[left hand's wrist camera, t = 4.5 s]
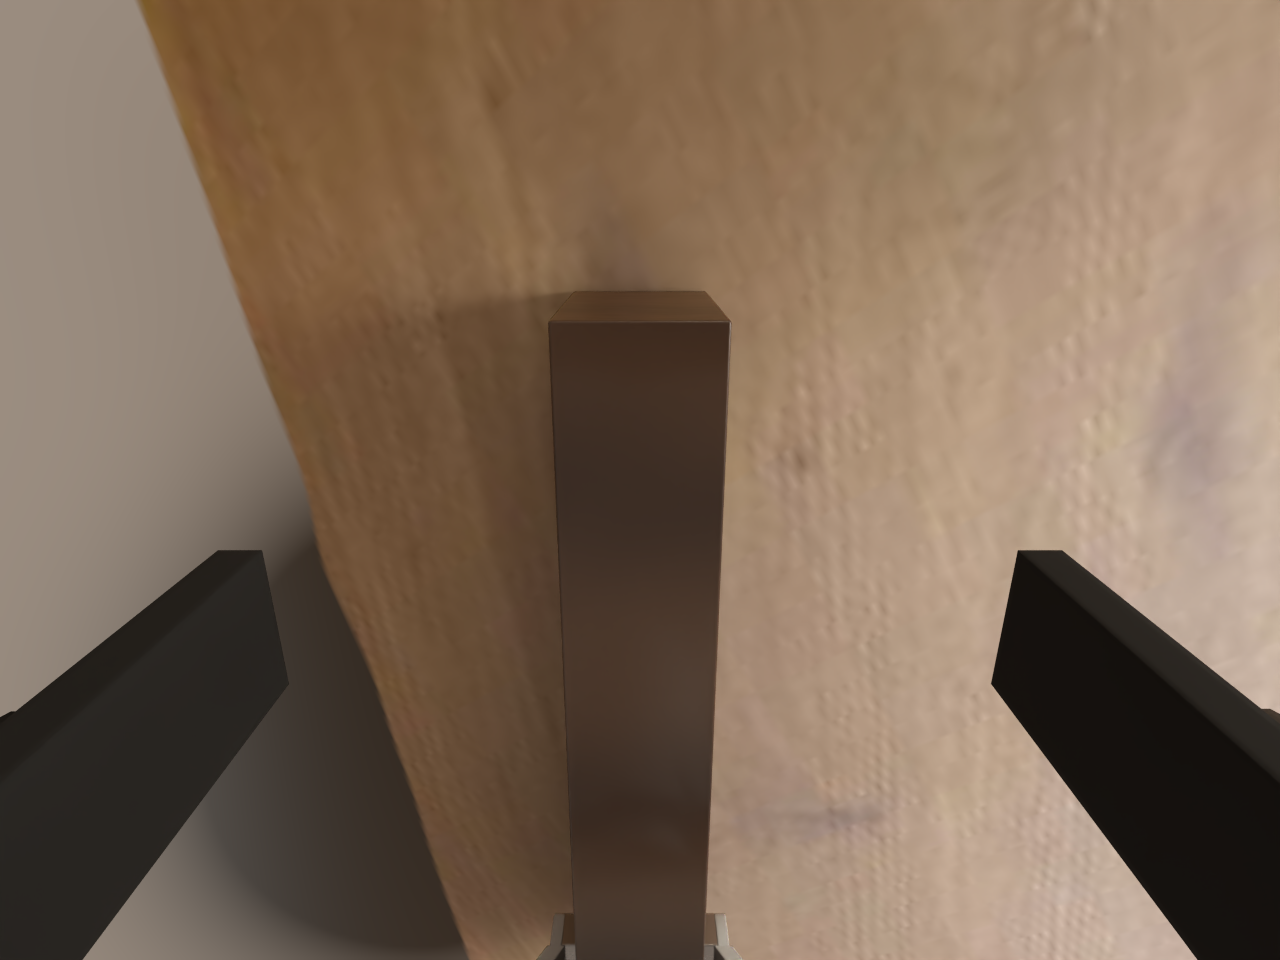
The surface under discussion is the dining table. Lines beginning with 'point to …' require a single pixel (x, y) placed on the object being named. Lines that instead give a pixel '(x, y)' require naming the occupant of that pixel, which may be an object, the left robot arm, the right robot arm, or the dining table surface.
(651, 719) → the beam
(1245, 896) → the left robot arm
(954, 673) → the dining table surface
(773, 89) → the dining table surface
